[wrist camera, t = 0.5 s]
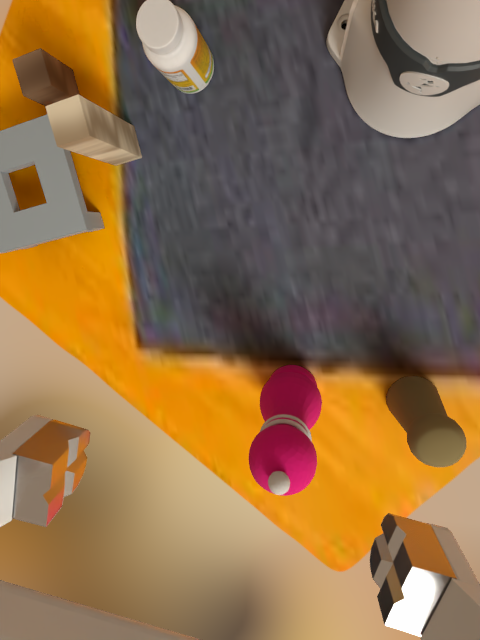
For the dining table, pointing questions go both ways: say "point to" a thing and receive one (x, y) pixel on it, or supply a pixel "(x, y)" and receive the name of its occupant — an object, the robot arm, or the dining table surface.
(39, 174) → the collar stand
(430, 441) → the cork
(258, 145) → the dining table surface
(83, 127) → the maple peg
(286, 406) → the pepper mill
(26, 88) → the walnut peg
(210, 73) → the supplement bottle
